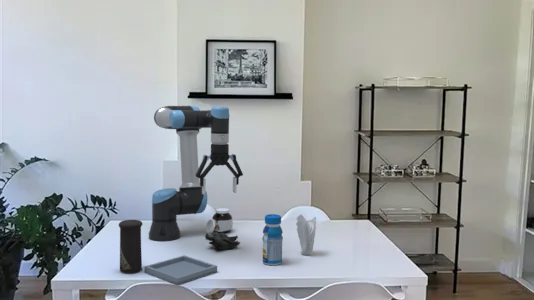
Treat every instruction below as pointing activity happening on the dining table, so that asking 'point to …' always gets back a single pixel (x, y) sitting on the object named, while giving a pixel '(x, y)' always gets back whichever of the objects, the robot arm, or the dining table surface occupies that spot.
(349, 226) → the dining table surface
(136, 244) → the container
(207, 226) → the spread jar
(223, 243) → the mineral specimen
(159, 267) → the tray
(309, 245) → the shell sculpture
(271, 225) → the beverage bottle
